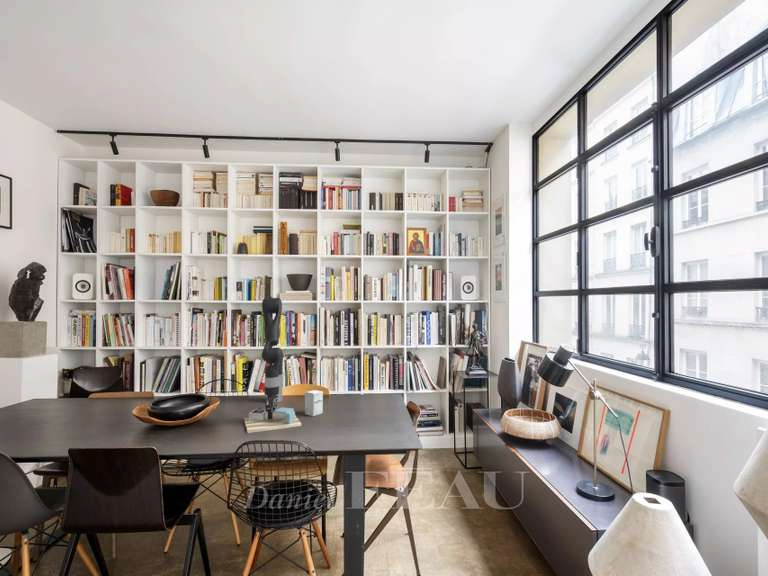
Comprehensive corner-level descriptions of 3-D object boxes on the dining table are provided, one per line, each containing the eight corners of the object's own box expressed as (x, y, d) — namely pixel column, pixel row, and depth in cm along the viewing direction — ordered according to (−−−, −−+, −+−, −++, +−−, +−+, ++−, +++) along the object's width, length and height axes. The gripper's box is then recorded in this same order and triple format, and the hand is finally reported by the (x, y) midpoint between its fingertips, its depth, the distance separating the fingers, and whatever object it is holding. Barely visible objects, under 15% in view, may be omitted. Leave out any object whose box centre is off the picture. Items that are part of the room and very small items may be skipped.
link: (248, 421, 198) (248, 413, 199) (254, 416, 206) (254, 409, 206) (285, 421, 198) (285, 413, 198) (289, 416, 206) (289, 409, 206)
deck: (244, 420, 203) (244, 418, 203) (293, 414, 214) (293, 412, 214) (247, 433, 183) (247, 430, 183) (301, 425, 194) (301, 423, 194)
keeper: (273, 425, 195) (273, 410, 195) (281, 421, 202) (281, 407, 202) (288, 427, 192) (288, 412, 193) (295, 423, 199) (296, 408, 199)
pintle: (256, 420, 203) (257, 406, 203) (260, 420, 203) (260, 406, 204) (257, 421, 201) (257, 407, 201) (260, 421, 202) (260, 407, 202)
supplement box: (313, 416, 210) (313, 393, 211) (304, 414, 215) (304, 391, 215) (323, 413, 216) (323, 391, 217) (314, 411, 221) (314, 389, 221)
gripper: (269, 382, 210) (268, 413, 209) (260, 388, 196) (259, 421, 195) (282, 382, 210) (282, 413, 209) (274, 388, 196) (274, 421, 195)
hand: (271, 417), depth 202 cm, fingers closed on link, 4 cm apart
